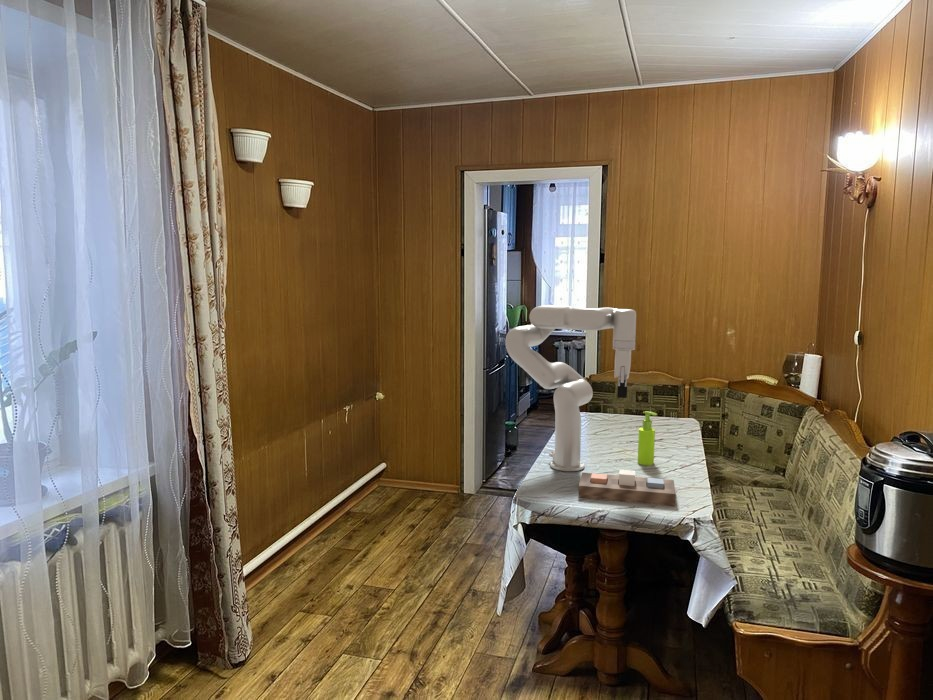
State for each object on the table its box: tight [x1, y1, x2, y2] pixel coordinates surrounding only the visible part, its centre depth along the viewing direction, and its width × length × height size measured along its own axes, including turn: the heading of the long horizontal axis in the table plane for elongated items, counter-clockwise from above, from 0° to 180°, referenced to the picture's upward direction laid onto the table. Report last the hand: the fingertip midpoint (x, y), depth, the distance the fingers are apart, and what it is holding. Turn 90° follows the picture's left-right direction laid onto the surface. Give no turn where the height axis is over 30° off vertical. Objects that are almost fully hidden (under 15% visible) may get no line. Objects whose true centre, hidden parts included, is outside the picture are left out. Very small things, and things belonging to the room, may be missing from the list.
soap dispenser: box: [637, 410, 658, 466], centre depth 252 cm, size 6×7×20 cm
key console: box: [577, 472, 677, 507], centre depth 219 cm, size 30×14×4 cm, turn 75°
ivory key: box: [618, 469, 636, 486], centre depth 218 cm, size 5×5×4 cm
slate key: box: [646, 477, 664, 489], centre depth 216 cm, size 5×5×4 cm
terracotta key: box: [591, 472, 608, 484], centre depth 221 cm, size 5×5×4 cm
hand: (622, 397), depth 232 cm, fingers closed
